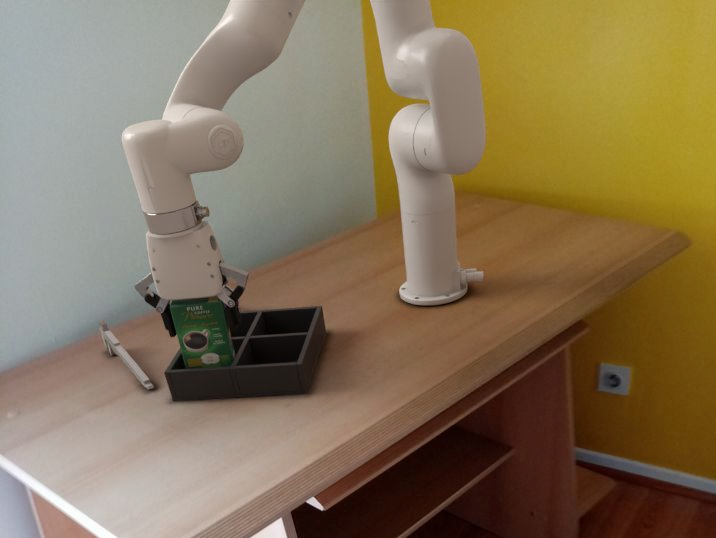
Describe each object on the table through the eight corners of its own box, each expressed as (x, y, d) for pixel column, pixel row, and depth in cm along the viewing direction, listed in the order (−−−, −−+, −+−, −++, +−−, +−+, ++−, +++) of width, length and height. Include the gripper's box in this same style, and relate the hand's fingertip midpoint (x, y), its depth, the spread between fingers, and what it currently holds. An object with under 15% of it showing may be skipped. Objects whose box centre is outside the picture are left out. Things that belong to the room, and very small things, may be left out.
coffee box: (241, 370, 123) (222, 292, 115) (239, 378, 121) (220, 299, 113) (192, 376, 123) (170, 299, 115) (189, 384, 121) (167, 306, 113)
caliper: (107, 352, 136) (95, 319, 132) (112, 350, 137) (101, 317, 133) (148, 391, 122) (137, 356, 118) (155, 389, 123) (143, 353, 119)
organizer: (326, 332, 133) (321, 305, 130) (307, 393, 116) (301, 364, 113) (208, 340, 135) (201, 314, 132) (172, 401, 119) (163, 372, 116)
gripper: (238, 204, 108) (264, 315, 119) (124, 216, 111) (159, 324, 121) (226, 221, 103) (254, 337, 113) (106, 234, 105) (144, 346, 116)
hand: (205, 330), depth 117 cm, fingers open, 9 cm apart
